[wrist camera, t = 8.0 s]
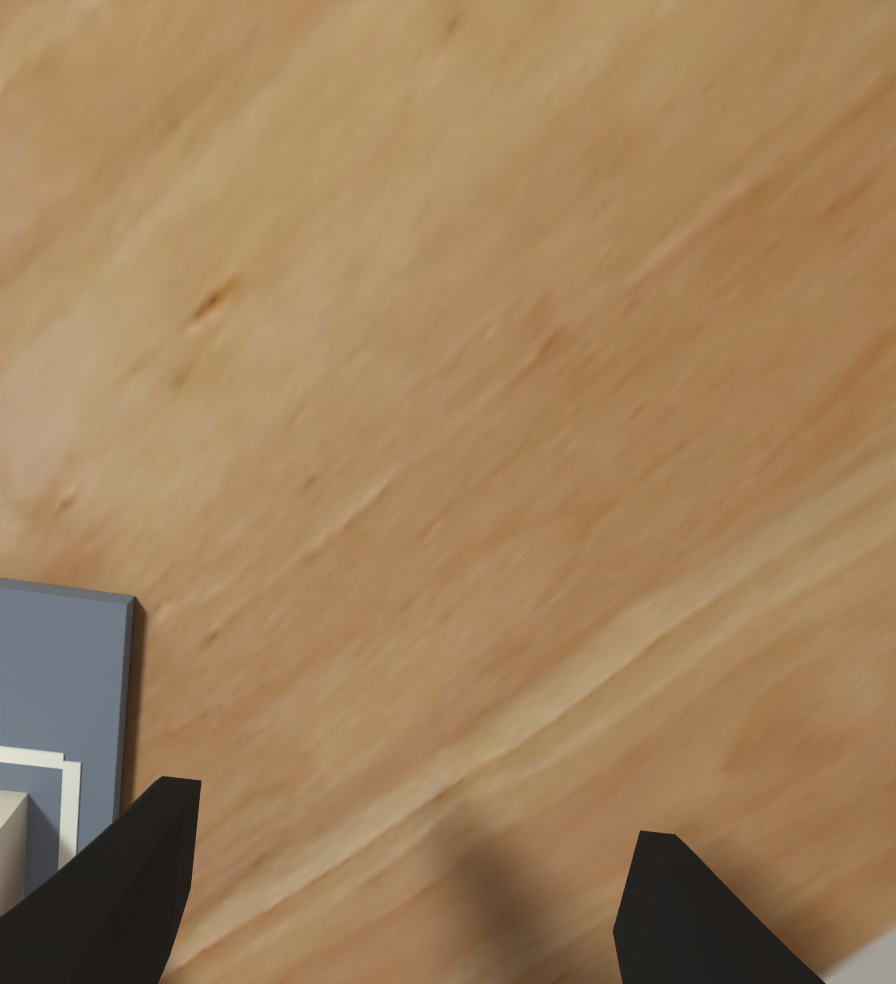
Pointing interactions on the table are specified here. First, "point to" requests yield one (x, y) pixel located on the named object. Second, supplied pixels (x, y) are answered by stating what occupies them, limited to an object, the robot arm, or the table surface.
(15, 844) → the birch base block
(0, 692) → the board
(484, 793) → the table surface
